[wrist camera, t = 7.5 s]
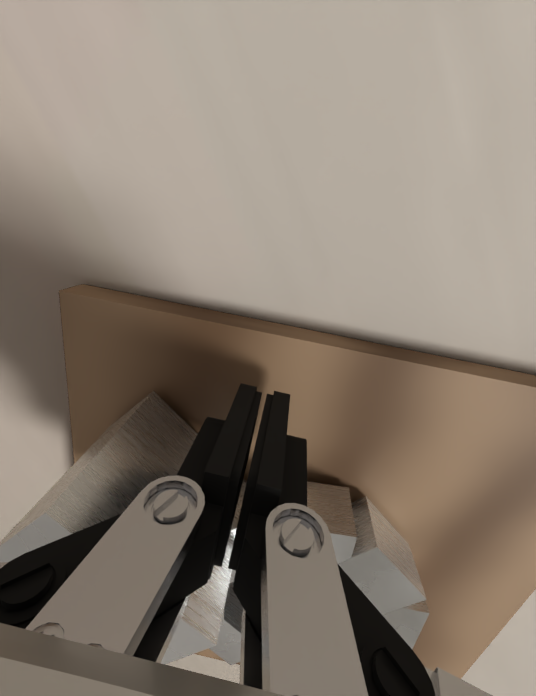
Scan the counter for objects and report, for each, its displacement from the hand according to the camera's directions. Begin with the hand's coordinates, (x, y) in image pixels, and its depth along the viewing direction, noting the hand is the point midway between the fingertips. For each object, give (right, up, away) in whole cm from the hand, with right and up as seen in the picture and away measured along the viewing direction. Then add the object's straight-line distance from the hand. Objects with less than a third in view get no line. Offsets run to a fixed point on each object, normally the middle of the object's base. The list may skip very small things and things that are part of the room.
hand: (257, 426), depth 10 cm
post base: (+2, -6, +5) cm, 8 cm away
